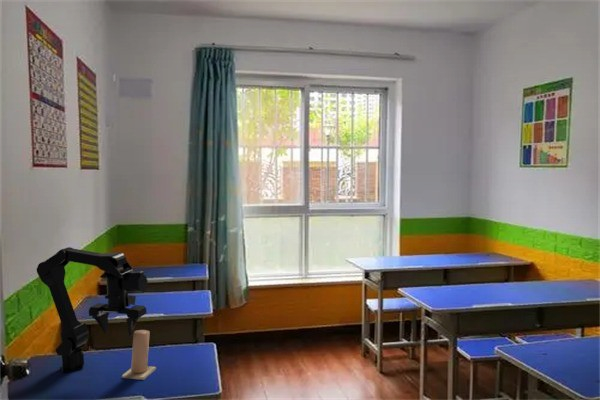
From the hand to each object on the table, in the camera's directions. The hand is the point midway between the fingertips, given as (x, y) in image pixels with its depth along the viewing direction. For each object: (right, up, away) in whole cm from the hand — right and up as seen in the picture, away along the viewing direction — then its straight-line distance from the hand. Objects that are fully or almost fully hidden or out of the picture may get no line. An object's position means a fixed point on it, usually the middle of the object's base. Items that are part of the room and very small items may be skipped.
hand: (118, 335), depth 163 cm
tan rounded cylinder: (+7, -12, 0) cm, 14 cm away
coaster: (+7, -13, 0) cm, 15 cm away
